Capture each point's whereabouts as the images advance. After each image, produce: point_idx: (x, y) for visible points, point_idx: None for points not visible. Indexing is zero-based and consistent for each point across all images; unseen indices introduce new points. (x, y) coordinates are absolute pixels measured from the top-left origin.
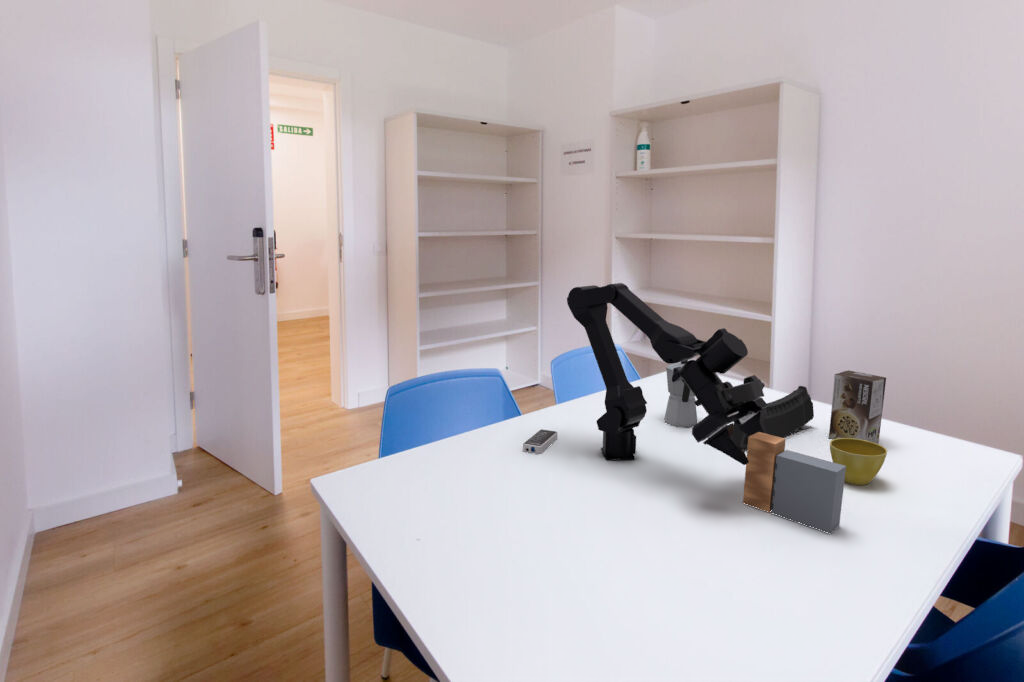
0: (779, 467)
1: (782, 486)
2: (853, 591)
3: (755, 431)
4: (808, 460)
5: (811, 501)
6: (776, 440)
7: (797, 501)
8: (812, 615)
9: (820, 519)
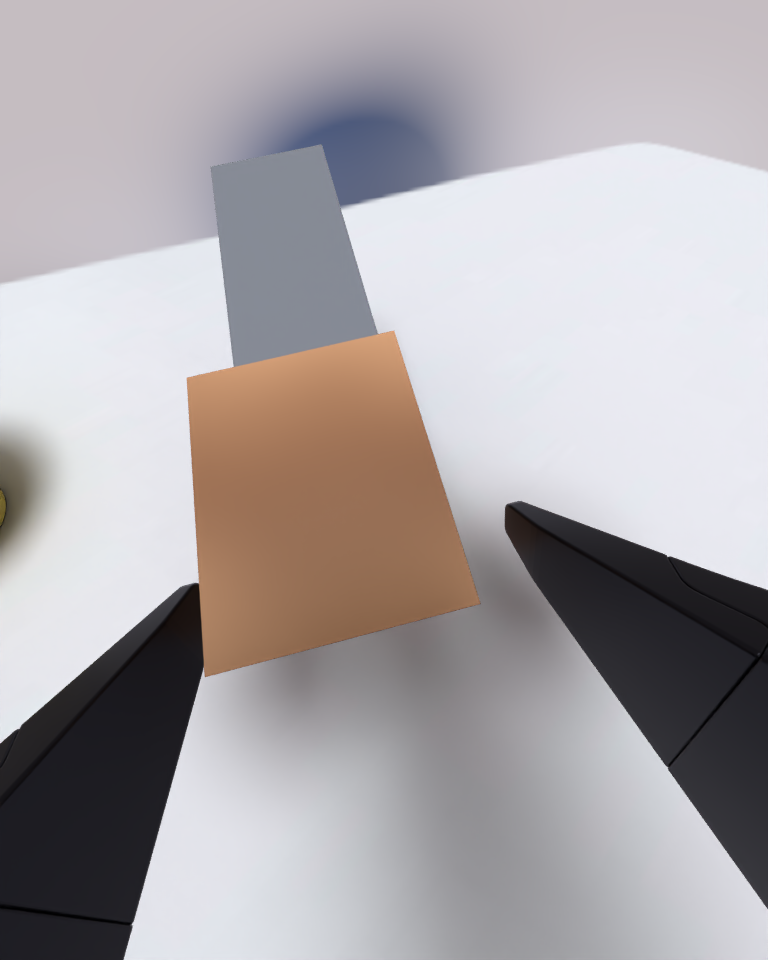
0: None
1: None
2: (506, 232)
3: (79, 836)
4: (295, 261)
5: None
6: (302, 384)
7: None
8: (628, 221)
9: None
